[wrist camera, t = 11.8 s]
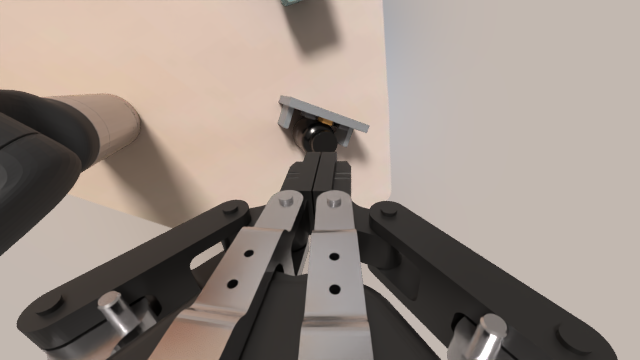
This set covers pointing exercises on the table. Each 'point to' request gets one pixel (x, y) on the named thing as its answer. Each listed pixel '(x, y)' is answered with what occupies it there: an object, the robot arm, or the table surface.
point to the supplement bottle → (314, 136)
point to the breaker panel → (320, 118)
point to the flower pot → (289, 2)
